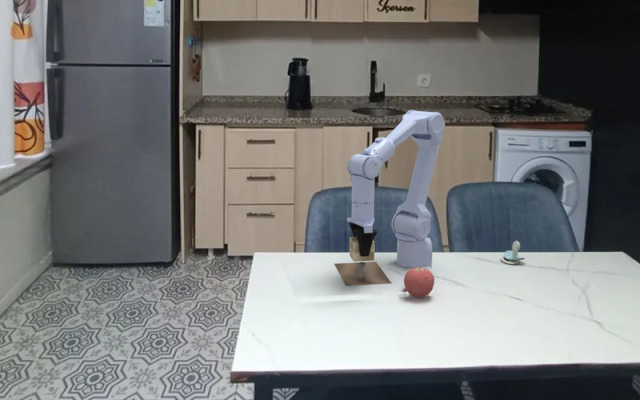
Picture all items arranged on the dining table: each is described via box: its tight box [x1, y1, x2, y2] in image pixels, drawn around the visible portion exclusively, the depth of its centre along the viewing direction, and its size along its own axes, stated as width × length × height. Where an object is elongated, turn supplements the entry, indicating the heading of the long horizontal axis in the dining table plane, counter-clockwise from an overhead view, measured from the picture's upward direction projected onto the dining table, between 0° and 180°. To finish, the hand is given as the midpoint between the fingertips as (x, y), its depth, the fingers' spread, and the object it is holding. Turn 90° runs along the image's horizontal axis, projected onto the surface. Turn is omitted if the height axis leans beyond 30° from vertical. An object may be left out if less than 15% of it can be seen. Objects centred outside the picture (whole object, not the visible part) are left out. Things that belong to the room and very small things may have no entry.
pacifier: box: [499, 240, 526, 265], centre depth 195 cm, size 7×6×6 cm
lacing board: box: [333, 261, 392, 287], centre depth 181 cm, size 12×18×6 cm, turn 8°
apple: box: [403, 266, 435, 299], centre depth 168 cm, size 7×7×8 cm
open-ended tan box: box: [349, 236, 376, 263], centre depth 174 cm, size 5×5×5 cm
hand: (362, 252), depth 175 cm, fingers closed on open-ended tan box, 5 cm apart
